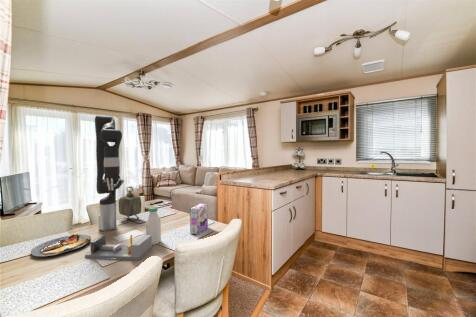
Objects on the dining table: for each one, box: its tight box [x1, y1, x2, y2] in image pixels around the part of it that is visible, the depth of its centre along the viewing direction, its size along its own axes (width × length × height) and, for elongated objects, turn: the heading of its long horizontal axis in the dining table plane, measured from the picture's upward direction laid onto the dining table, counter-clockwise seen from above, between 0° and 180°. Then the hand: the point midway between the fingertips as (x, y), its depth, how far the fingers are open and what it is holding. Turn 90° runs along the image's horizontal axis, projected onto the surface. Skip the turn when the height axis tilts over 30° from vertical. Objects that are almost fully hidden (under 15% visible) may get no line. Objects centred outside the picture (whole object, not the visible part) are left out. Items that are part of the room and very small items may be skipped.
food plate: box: [30, 234, 92, 257], centre depth 115 cm, size 25×23×4 cm
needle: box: [127, 234, 135, 253], centre depth 107 cm, size 1×5×8 cm, turn 174°
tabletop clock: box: [118, 186, 142, 221], centre depth 160 cm, size 14×9×25 cm, turn 66°
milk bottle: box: [145, 206, 162, 246], centre depth 120 cm, size 8×8×20 cm
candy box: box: [189, 203, 209, 235], centre depth 138 cm, size 14×6×16 cm, turn 161°
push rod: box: [89, 235, 123, 252], centre depth 109 cm, size 12×8×5 cm, turn 84°
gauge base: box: [84, 234, 153, 262], centre depth 108 cm, size 28×12×8 cm, turn 84°
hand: (112, 196), depth 117 cm, fingers closed
